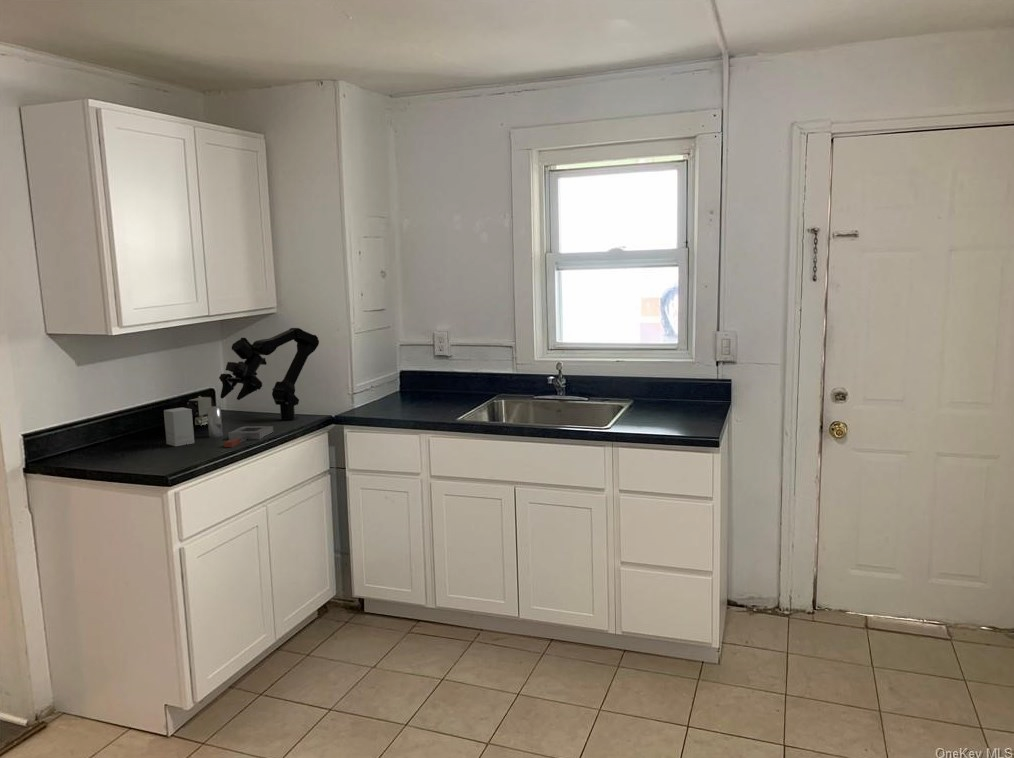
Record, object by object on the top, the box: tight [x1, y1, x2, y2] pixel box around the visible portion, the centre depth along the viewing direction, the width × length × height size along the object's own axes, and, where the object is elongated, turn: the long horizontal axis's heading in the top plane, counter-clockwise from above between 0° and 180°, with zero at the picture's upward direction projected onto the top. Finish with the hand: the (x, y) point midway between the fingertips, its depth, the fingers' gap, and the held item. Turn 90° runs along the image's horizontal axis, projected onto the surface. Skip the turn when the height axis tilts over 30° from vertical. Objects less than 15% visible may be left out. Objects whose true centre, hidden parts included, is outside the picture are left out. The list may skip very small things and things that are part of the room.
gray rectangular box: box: [223, 425, 274, 448], centre depth 288 cm, size 25×12×2 cm, turn 174°
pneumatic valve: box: [185, 395, 215, 427], centre depth 318 cm, size 6×12×12 cm, turn 162°
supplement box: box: [163, 407, 195, 447], centre depth 284 cm, size 7×7×13 cm
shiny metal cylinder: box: [206, 405, 224, 438], centre depth 296 cm, size 5×5×11 cm
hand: (229, 398), depth 301 cm, fingers open, 9 cm apart
